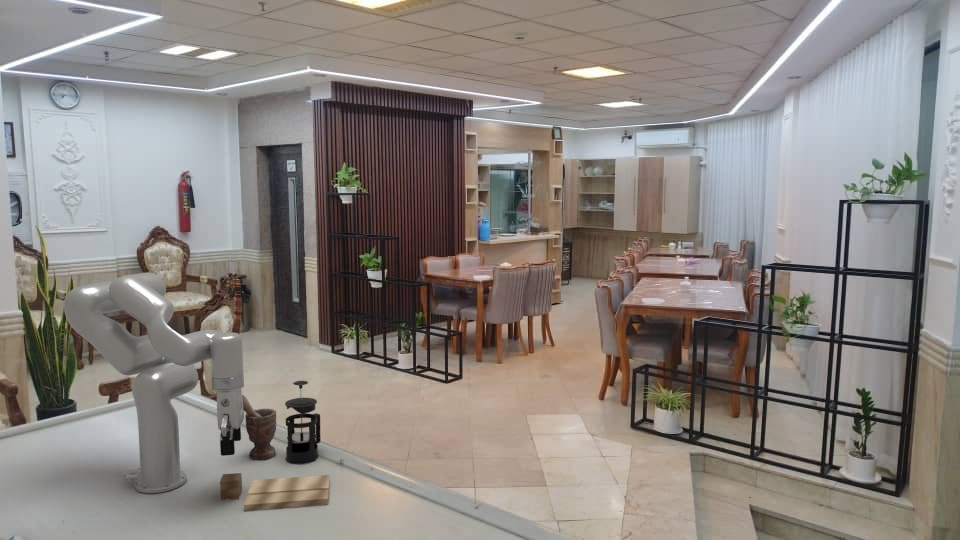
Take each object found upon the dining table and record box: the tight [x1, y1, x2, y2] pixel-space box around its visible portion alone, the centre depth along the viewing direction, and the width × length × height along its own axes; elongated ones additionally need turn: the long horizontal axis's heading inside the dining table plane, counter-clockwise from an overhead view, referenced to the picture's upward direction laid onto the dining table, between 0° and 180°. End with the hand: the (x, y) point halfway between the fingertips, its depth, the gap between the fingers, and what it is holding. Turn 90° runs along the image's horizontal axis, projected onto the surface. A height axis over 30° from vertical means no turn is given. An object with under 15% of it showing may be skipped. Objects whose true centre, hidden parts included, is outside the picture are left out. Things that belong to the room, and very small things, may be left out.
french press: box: [284, 380, 322, 465], centre depth 194 cm, size 12×9×23 cm
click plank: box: [247, 474, 330, 494], centre depth 173 cm, size 20×7×2 cm, turn 101°
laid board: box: [243, 487, 330, 512], centre depth 166 cm, size 20×6×2 cm, turn 101°
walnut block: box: [219, 472, 243, 501], centre depth 170 cm, size 4×4×5 cm
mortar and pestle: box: [242, 394, 277, 461], centre depth 193 cm, size 12×9×20 cm
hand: (231, 447), depth 168 cm, fingers open, 9 cm apart
